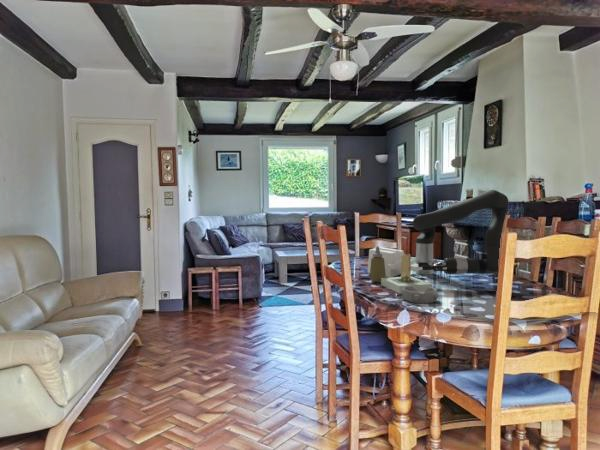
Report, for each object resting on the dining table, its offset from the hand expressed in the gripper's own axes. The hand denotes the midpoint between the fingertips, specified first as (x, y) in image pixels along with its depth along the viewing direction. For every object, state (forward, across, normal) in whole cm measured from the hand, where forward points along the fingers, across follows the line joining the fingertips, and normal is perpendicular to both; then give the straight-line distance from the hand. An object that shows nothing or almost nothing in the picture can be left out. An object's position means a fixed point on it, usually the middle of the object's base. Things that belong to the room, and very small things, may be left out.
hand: (420, 266), depth 199 cm
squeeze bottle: (+18, -17, +11) cm, 27 cm away
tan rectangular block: (+7, 0, +10) cm, 13 cm away
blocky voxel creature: (+6, -34, +11) cm, 36 cm away
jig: (+7, 0, +10) cm, 13 cm away
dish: (+6, +24, +11) cm, 27 cm away
